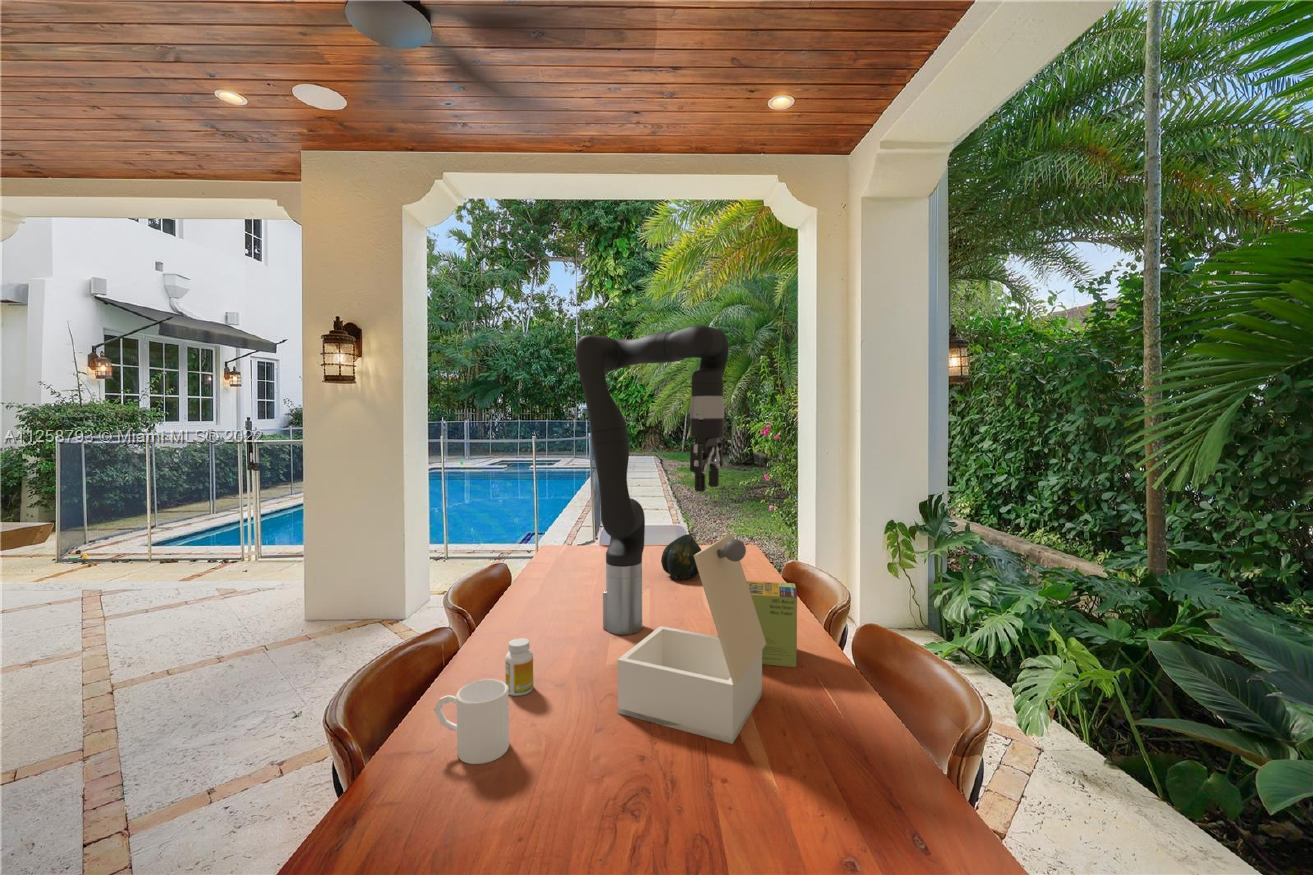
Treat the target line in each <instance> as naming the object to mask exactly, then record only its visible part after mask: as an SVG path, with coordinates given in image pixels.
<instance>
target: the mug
mask: <svg viewBox="0 0 1313 875" xmlns="http://www.w3.org/2000/svg"><path fill="white" fill-rule="evenodd" d="M509 696H510V695H509V690H508V685H507V684H506V682H505V681H502V680H499V679H495V678H494V679H492V678H489V679H488V678H487V679H479V680H475V681H472V682H469V683H467V684H465V685H464V686H462V687H461V688H460V689H459V690H458V691H457V692H456V696H455V695H451V694H447V695H445V696H442V697H439V700H438V701H437V703H436V705H435V707H434V709H433V711H434V713H435V715H436V718H437V719H438V721H439V724H440V725H441V726H442V727H445V728H447V729H448V730H450V731H454V732H456V738H457V739H456V746H457V748H456V750H457V752H456V753H457V754H456V755H457V757H458V758H459V760H460V761H461V762H463V763H466V764H469V765H483V764H487V763H488V764H489V763H491V762H493V761H496V760H497V759H499V758H501V757H502V756H504V755H505V754H506V753H507V752H508V749H509V747H510V708H509V706H510V704H509V703H510V702H509V699H510V698H509ZM449 703H453V704H456V723H454V722H452V721H450V720H448V719H447V717H446V714H445V713H444V712H443V707H444V705H445V704H449Z"/></svg>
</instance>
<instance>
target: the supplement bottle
mask: <svg viewBox="0 0 1313 875" xmlns="http://www.w3.org/2000/svg"><path fill="white" fill-rule="evenodd" d="M504 660H505V661H504V663H505V665H504V666H505V667H504V669H505V670H504V671H505V676H504V677H505V683H506V684H507V685H508V690H509V696H512V697H513V696H516V697H519V696H525V695H527V694H529V693H531V692H532V691H533V689H534V655H533V652H532V650H531V649H530V640H529V639H527V638H521V637H519V638H514V639H512V640H510V641H509V642H508V652H507V653H506V654H505V658H504Z"/></svg>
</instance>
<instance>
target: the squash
mask: <svg viewBox="0 0 1313 875" xmlns="http://www.w3.org/2000/svg"><path fill="white" fill-rule="evenodd" d="M702 550H703V549H701V547H700V545H699V544H698V543H697V542H696V540H695V539H694V537H693V536H692V535H691V534H690V533H689V534H683V535H681V536H680V537H678V538H676V539H674V540H673V541H672V542H669V543H668V544H667V545H666V546H665V548H664V550H663V552H662V555H661V560H660V561H661V566H662V569H663V571H664V572H665V573H666V574H668V575H669V576H670V577H671V578H672V579H673V580H675V579H677V580H680V579H682V580H688V579H689V578H694V577H696V576H697V575H699V572H698V568H697V565H696V562H695V559H694V555H695V554H697V553H698V552H700V551H702ZM679 578H680V579H679Z"/></svg>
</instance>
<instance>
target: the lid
mask: <svg viewBox="0 0 1313 875" xmlns="http://www.w3.org/2000/svg"><path fill="white" fill-rule="evenodd" d="M746 549H747V548H746V545H745V543H744V542H743V541H742V540H740V539H737V538H734V537H733V534H732V533H729V534H727V535H725V536H723V537H722V538H720V539H719V540H717V541H715V542H713V543H712V544H710V545H709V546H707V547H704V548H703V549H701V550H702V551H700V552H698V553H697V554H695V555H694V559H695V562H696V565H697V568H698V572H699V574H698V575H699V579H700V581H701V585H702V588H703V591H704V595H705V596H706V598H705V599H706V600H707V604H708V607H709V610H710V613H711V616H712V620H713V624H714V626H715V627H714V628H715V631H716V634H717V636H718V637H719V640H720V644H721V647H722V650H723V653H724V657H725V660H726V663H727V666H728V670H729V673H730V676H731V679H732V683H733V685H737V684H738V683H739V682H740V680H741V679H742V678H743V676H744V675H745V673H746V672H747V670H748V669H749V668H750V666H751V665H752V663H753V662H754V661H755V659H756V658H757V656H758V655H759V654H760V652H761V651H762V649H763V648H764V647H765V645H766V641H765V638H764V635H763V632H762V628H761V625H760V622H759V619H758V616H757V613H756V609H755V606H754V603H753V600H752V597H751V594H750V590H749V587H748V584H747V581H748V580H747V578H746V575H745V571H744V568H743V566H742V563H741V560H743V559H744V557H745V556H746V554H747V550H746Z"/></svg>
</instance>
